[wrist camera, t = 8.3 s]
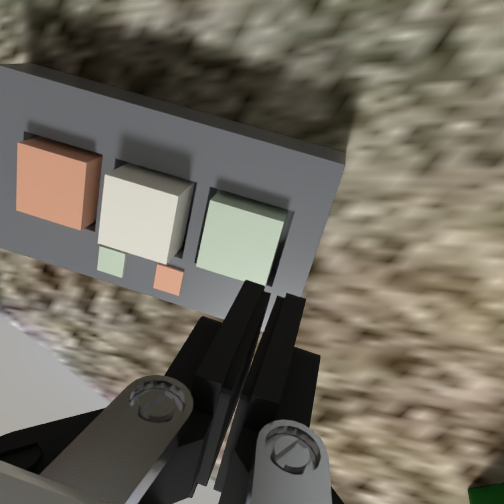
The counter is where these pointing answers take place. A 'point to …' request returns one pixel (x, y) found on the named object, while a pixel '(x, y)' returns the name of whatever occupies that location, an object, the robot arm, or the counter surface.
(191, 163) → the keypad
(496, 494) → the milk carton
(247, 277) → the sage key
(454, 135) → the counter surface
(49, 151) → the terracotta key
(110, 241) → the cream key
